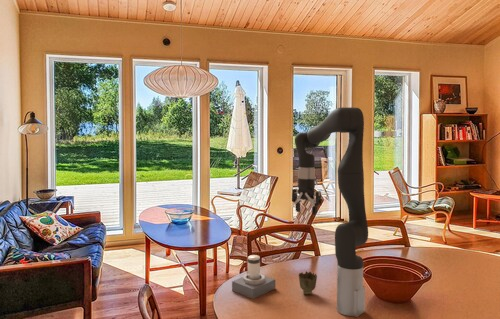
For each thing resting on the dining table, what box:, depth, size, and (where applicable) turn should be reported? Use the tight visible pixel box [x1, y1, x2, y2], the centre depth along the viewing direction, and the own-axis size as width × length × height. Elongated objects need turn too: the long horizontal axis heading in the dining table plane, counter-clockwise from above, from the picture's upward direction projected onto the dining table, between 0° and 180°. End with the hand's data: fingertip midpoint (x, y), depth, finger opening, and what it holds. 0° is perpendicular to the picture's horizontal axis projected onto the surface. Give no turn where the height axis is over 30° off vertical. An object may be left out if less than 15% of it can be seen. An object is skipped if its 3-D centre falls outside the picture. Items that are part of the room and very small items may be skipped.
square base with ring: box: [231, 273, 276, 300], centre depth 159 cm, size 12×14×6 cm
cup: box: [298, 271, 318, 296], centre depth 155 cm, size 8×7×8 cm
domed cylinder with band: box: [247, 254, 261, 280], centre depth 159 cm, size 5×5×10 cm
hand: (306, 213), depth 169 cm, fingers open, 8 cm apart
